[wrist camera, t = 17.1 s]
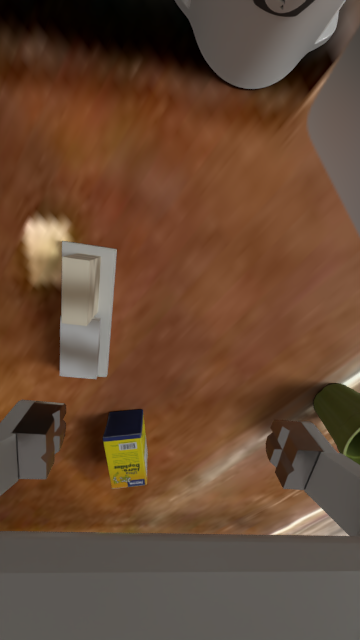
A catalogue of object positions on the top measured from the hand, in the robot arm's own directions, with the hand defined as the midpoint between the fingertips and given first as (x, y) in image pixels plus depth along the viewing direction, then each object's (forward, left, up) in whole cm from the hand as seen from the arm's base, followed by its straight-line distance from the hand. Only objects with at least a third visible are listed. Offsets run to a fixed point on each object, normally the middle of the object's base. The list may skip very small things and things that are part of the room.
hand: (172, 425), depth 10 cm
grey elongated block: (+6, -10, -28) cm, 30 cm away
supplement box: (+23, -3, -26) cm, 35 cm away
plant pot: (+17, +34, -29) cm, 48 cm away
